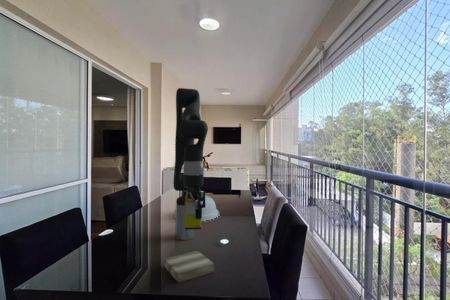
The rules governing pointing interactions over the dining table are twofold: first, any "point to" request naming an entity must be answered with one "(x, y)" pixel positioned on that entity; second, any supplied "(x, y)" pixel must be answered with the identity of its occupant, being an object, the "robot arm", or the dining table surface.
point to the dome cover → (208, 209)
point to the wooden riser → (188, 266)
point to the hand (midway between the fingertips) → (193, 216)
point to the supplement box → (191, 215)
